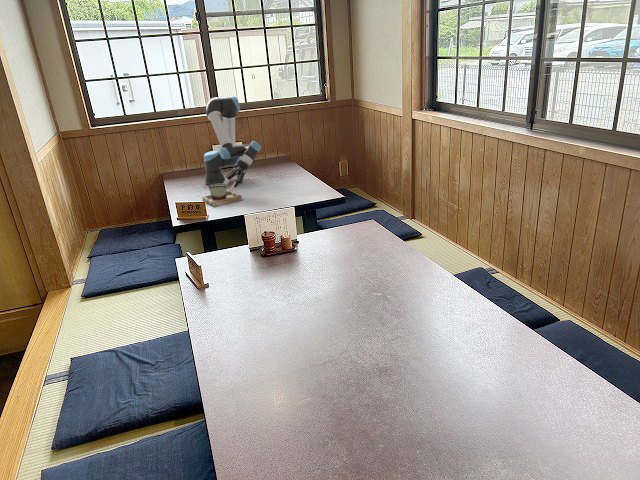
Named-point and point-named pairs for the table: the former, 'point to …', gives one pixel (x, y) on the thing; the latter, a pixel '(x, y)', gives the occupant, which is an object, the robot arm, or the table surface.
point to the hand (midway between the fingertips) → (227, 189)
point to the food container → (218, 191)
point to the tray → (230, 198)
